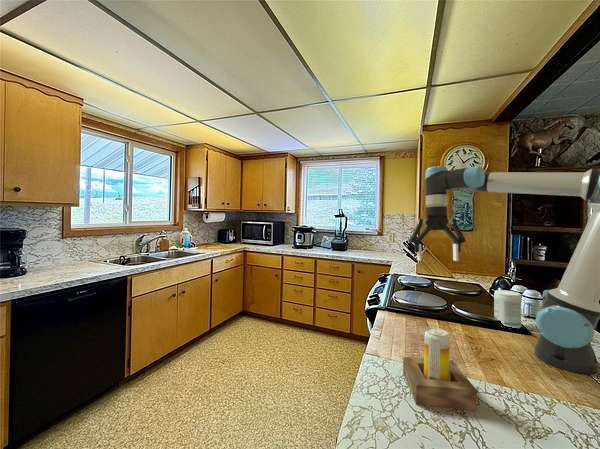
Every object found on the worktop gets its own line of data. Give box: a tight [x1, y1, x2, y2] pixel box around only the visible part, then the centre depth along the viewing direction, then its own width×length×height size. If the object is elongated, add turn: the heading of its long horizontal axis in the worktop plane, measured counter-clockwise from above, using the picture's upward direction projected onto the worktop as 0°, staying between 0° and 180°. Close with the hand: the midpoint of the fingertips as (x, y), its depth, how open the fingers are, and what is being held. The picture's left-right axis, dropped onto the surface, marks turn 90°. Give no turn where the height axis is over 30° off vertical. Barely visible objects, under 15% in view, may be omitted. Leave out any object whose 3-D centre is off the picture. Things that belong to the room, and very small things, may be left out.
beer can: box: [423, 327, 450, 381], centre depth 73 cm, size 6×6×15 cm
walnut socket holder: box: [402, 356, 478, 412], centre depth 73 cm, size 14×14×5 cm
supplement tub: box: [493, 289, 522, 329], centre depth 120 cm, size 10×10×15 cm
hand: (437, 260), depth 105 cm, fingers open, 13 cm apart
